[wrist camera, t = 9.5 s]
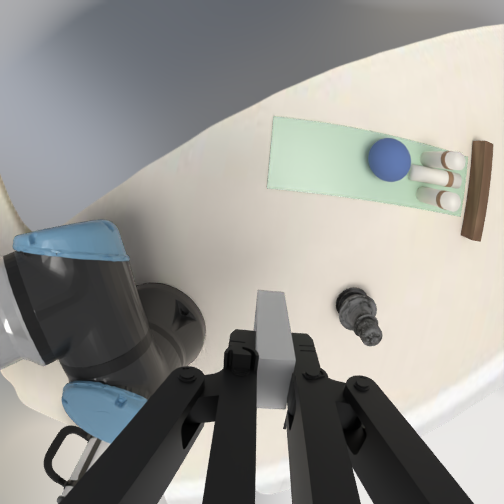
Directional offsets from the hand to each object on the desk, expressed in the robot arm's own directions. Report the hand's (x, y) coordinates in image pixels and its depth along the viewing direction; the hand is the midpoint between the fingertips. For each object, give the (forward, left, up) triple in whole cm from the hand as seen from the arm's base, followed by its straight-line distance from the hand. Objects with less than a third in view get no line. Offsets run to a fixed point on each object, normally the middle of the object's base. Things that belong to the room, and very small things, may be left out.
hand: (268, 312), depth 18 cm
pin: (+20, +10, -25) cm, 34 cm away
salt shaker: (+15, -11, -27) cm, 32 cm away
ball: (+16, +11, -23) cm, 30 cm away
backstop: (+34, +10, -26) cm, 44 cm away
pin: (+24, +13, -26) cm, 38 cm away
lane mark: (+16, +10, -26) cm, 32 cm away
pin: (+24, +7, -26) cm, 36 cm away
